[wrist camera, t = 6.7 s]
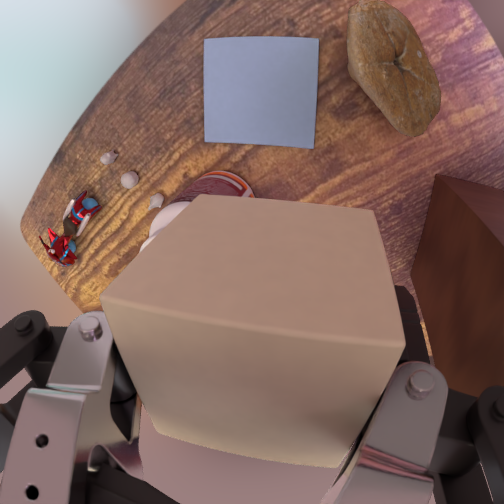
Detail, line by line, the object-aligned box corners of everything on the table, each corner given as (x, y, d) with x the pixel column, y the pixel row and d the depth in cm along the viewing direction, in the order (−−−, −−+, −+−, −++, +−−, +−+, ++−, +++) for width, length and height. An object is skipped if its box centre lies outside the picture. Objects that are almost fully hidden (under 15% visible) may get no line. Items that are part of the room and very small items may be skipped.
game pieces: (169, 198, 29) (160, 205, 27) (158, 211, 30) (148, 219, 28) (115, 142, 27) (103, 147, 26) (105, 157, 28) (93, 162, 27)
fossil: (415, 160, 17) (329, 17, 12) (366, 160, 21) (284, 42, 16) (454, 94, 18) (391, -17, 14) (413, 99, 22) (351, 1, 18)
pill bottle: (179, 191, 28) (111, 250, 19) (230, 155, 26) (171, 203, 16) (218, 243, 30) (169, 319, 21) (271, 214, 28) (238, 289, 18)
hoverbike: (55, 240, 36) (28, 262, 31) (86, 178, 30) (51, 197, 25) (80, 267, 37) (55, 291, 32) (116, 209, 31) (84, 233, 26)
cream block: (199, 192, 9) (96, 295, 5) (374, 209, 8) (408, 344, 4) (210, 320, 12) (156, 433, 7) (345, 339, 11) (337, 469, 6)
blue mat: (205, 39, 21) (203, 39, 21) (319, 39, 19) (319, 38, 19) (206, 141, 26) (204, 142, 25) (313, 148, 24) (313, 149, 24)
